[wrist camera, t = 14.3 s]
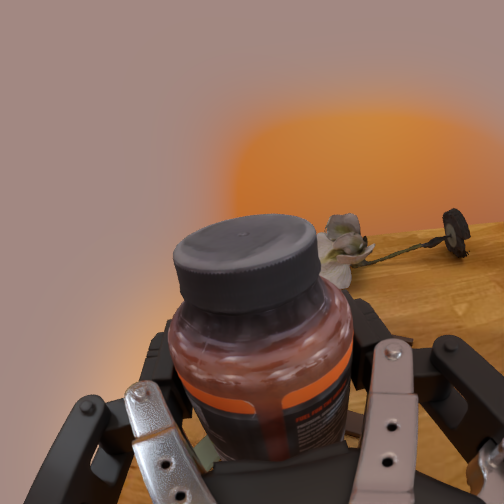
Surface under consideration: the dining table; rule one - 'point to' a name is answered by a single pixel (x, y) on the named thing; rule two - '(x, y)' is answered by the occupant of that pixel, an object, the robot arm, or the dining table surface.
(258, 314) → the supplement bottle
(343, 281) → the artificial flower
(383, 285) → the dining table surface
